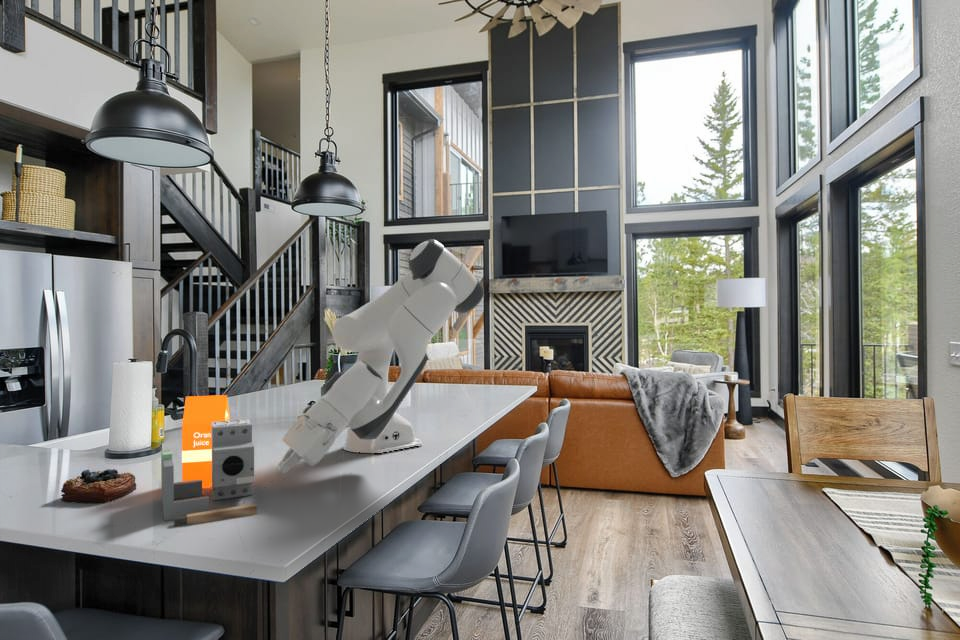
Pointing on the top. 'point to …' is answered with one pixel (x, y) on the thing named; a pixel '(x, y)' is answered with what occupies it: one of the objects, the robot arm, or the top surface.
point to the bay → (179, 492)
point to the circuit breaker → (232, 459)
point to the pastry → (98, 486)
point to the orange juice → (200, 435)
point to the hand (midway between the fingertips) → (280, 470)
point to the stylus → (216, 515)
